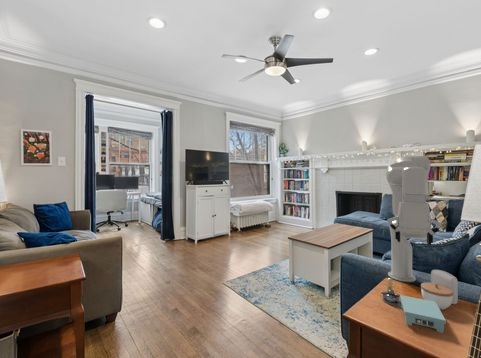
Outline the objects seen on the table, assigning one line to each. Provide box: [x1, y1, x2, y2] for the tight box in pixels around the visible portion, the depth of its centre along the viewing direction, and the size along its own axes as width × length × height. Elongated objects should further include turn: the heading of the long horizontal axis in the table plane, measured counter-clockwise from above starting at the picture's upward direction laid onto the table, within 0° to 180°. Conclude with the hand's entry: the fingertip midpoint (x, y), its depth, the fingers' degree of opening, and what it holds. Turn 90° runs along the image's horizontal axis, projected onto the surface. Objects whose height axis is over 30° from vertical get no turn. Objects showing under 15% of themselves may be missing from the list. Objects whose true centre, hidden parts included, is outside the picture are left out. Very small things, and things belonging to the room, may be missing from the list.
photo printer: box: [430, 269, 459, 305], centre depth 108 cm, size 10×4×12 cm, turn 9°
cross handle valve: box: [380, 277, 401, 303], centre depth 107 cm, size 10×7×7 cm
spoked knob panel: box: [381, 294, 447, 334], centre depth 97 cm, size 22×18×5 cm
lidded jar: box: [420, 282, 453, 311], centre depth 102 cm, size 11×11×9 cm
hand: (413, 242), depth 92 cm, fingers open, 9 cm apart
